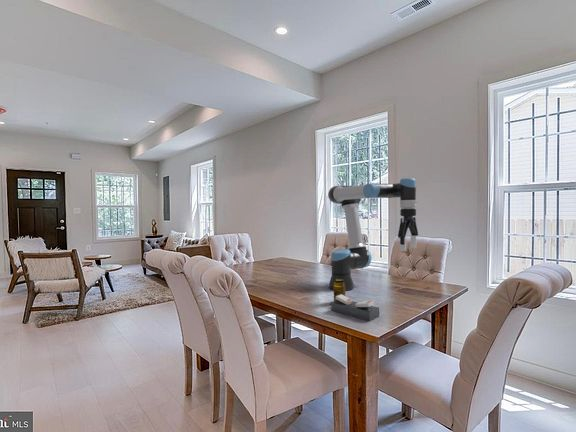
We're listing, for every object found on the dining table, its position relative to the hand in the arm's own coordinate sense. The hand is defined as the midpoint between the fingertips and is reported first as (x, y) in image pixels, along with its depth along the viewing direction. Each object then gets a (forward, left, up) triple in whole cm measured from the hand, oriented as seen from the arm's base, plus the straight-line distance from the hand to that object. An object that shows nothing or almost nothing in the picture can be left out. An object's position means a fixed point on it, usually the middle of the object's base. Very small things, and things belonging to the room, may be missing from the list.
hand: (408, 249), depth 158 cm
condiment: (-26, -25, -27) cm, 45 cm away
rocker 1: (-16, -35, -22) cm, 44 cm away
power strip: (-12, -35, -27) cm, 46 cm away
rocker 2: (-5, -35, -22) cm, 41 cm away
